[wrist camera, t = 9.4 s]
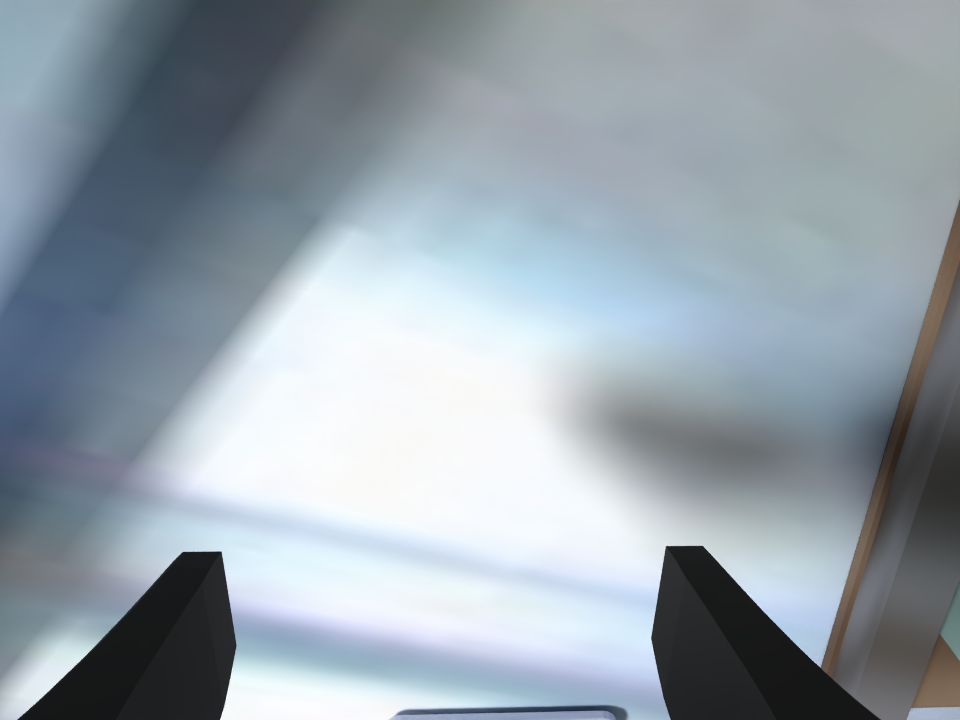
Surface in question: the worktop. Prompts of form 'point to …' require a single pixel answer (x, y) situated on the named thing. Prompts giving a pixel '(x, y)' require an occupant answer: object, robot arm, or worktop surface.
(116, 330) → the worktop surface
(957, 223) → the track
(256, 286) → the worktop surface
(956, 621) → the green block
